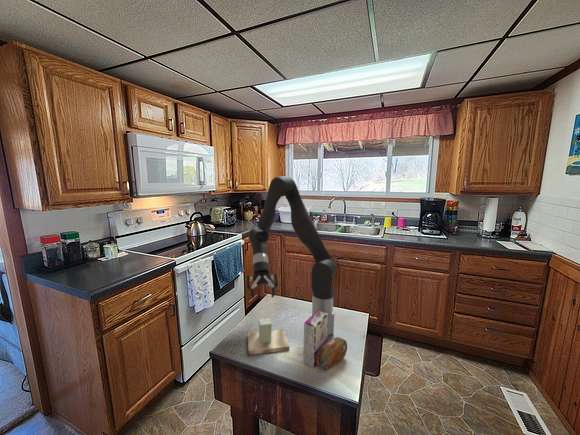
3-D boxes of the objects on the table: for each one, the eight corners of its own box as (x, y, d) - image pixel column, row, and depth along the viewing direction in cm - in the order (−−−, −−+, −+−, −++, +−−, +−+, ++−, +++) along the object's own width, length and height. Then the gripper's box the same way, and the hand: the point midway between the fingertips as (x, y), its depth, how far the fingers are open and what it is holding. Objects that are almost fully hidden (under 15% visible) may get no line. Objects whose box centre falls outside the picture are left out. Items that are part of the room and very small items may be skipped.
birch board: (283, 332, 110) (283, 329, 110) (289, 349, 98) (289, 346, 98) (247, 336, 107) (247, 333, 106) (248, 354, 95) (248, 351, 95)
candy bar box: (316, 347, 100) (317, 309, 98) (327, 352, 98) (329, 313, 96) (302, 363, 91) (303, 321, 89) (314, 369, 88) (316, 326, 86)
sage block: (269, 335, 105) (269, 318, 104) (271, 342, 101) (271, 323, 100) (258, 336, 104) (259, 319, 103) (260, 343, 99) (260, 325, 98)
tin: (320, 375, 85) (321, 353, 84) (314, 370, 88) (315, 348, 87) (347, 357, 95) (348, 336, 94) (340, 352, 97) (341, 332, 96)
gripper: (246, 261, 114) (247, 295, 105) (276, 260, 117) (280, 293, 108) (245, 268, 120) (246, 301, 111) (274, 267, 123) (277, 299, 114)
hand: (263, 297), depth 109 cm, fingers open, 8 cm apart
